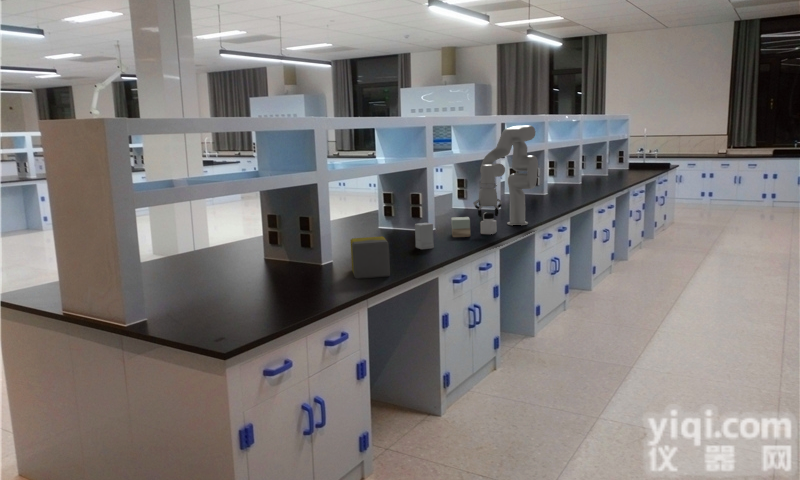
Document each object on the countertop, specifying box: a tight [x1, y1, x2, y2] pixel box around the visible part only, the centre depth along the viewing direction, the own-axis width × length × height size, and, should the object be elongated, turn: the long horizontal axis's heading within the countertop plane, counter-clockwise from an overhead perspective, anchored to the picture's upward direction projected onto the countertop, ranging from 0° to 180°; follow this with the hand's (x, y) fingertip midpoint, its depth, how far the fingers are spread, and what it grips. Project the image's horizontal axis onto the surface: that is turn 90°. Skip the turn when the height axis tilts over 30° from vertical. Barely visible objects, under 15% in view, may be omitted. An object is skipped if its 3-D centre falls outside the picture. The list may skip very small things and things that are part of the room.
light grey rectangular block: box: [480, 211, 498, 235], centre depth 351 cm, size 7×7×12 cm
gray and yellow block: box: [350, 235, 391, 280], centre depth 268 cm, size 15×24×15 cm, turn 9°
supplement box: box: [414, 222, 435, 250], centre depth 316 cm, size 7×7×13 cm
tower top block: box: [450, 216, 471, 230], centre depth 348 cm, size 10×10×5 cm
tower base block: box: [451, 227, 471, 238], centre depth 349 cm, size 10×10×5 cm
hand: (488, 216), depth 350 cm, fingers open, 9 cm apart
